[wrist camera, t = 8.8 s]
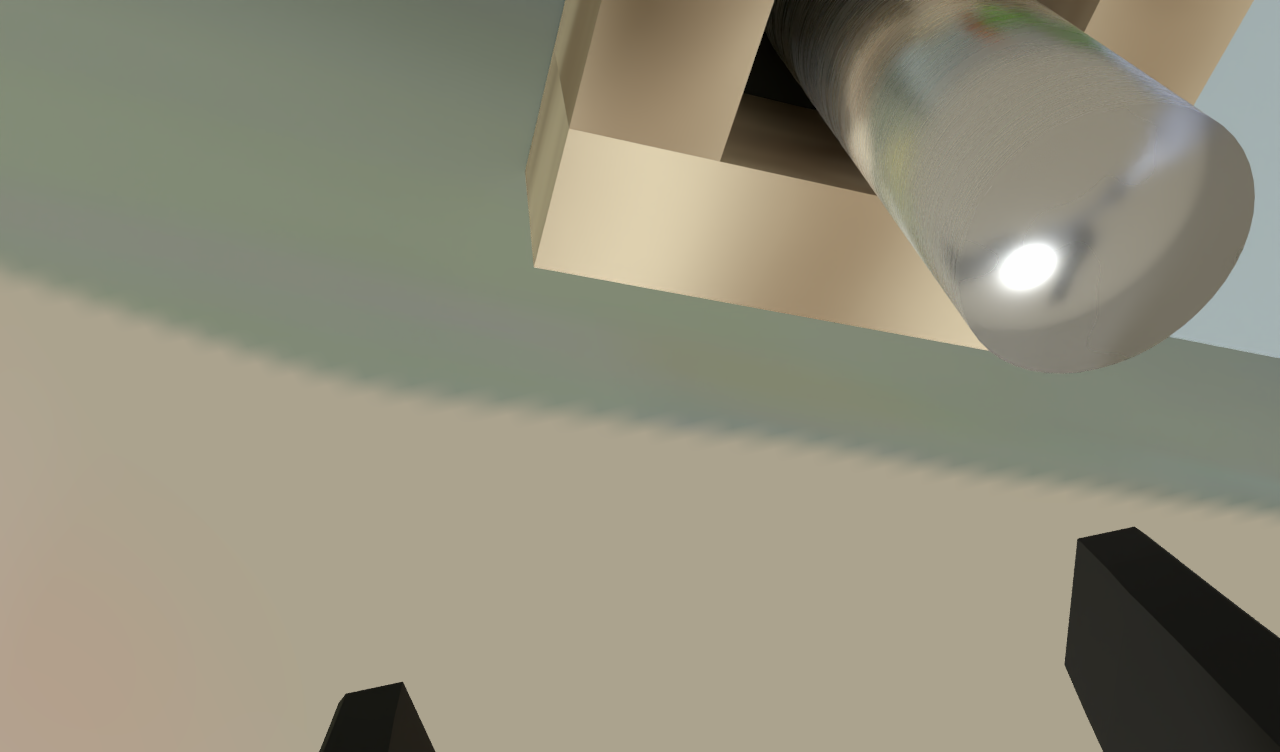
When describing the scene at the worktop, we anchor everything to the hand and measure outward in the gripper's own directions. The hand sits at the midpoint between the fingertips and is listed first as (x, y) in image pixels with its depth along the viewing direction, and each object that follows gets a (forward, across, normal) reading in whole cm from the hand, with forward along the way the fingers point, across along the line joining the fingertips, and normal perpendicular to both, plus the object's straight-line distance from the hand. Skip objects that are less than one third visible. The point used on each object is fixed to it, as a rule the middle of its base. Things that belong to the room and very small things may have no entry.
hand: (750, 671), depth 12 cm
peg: (+10, -4, -3) cm, 12 cm away
